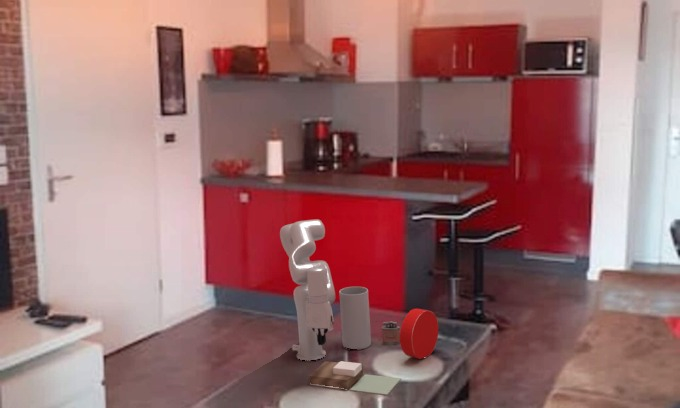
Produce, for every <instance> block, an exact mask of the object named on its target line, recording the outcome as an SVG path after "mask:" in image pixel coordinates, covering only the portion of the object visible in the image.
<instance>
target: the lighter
mask: <svg viewBox="0 0 680 408" xmlns="http://www.w3.org/2000/svg"><path fill="white" fill-rule="evenodd" d="M400 331H401V326H399V325H398V323H397V321H392V320H391V321H384V322H382V326H381V335H382V336H381V337H382V341H381V342H382V343H381V344H382V345H384V346H396V345H401V344H400Z"/></svg>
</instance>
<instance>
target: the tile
mask: <svg viewBox="0 0 680 408" xmlns="http://www.w3.org/2000/svg"><path fill="white" fill-rule="evenodd" d="M337 363H338V364H337V365H336V366H334V367H333V374H338V375H346V376H354V377H355V376H356V375H357V374H358V373H359V372H360V371H361V370H363V365H362V363H361V362H360V363H359V362H351V361H343V360H341V361H339V362H337Z"/></svg>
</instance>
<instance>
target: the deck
mask: <svg viewBox="0 0 680 408" xmlns="http://www.w3.org/2000/svg"><path fill="white" fill-rule="evenodd" d="M338 363H339V362H338V361H337V362H335V361H327V360H325V361H324V362H323V363H322V364H321V365H319V366H318V367H317V368H316V369H315V370H314V371H313V372H312V373H310V374H309V375H308V378H309V384H310V383H311V384H319V385H325V386H333V387H339V388H344V389H347V390H346V391H348V390H350V389H351V388H352V387H353V386H354V385H355V384H356V383H357V382H358V381H359V380H360V379H361V378H362V377H363V376H364V375H363V369H362V370H361V371H360V372H359V373H358V374H357V375H356V376H355V377H354V376H346V375H338V374H333V367H334V366H336V365H337V364H338Z"/></svg>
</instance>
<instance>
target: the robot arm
mask: <svg viewBox="0 0 680 408" xmlns="http://www.w3.org/2000/svg"><path fill="white" fill-rule="evenodd" d="M325 234H326V228H325V225H324V223H323V222H322V220H320V219H318V218H317V219H307V220H299V221H295V222H294V223H290V224H289V223H288V224H286V225H283V226H282V227H281V228H280V231H279V237H280V241H281V245H282V247H283V249H284V251H285V252H286V255H287V256H288V258H289V259H288V269H289V272H290V276H291V278H292V279H291V280H292V281H293V282H294V283H295V284H297V285H298V286H296V287H295V288H294V290H293V300H294V304H295V309H296V316H297V328H298V342H299V344H292V347H291V348H292V352H297V353H296V358H297V360H299V359H300V360H299V361H302V360H305V361H304V362H311V361H310V360H316V361H318V360H317V359H320V360H322V359H324V358H325V357H326V356H327V352H326V350H324V349H323V345H325V344H326V342H327V341H326V340H327V336H326V334H327V333H328V332H330V331H333V330H334V315H333V313H334V312H333V308H332V305H331V304H333V303H335V301H336V291H335V286H334V282H333V279H332V275H331V274H332V273H331V269H330V267H329V264H328V263H327V261H325V260H313V261H312V260H310V257H311V256H312V255H313V254H314V253H315V251H316V249H317V247H316V243H315V241H320V240H322V239H324V238H325V236H326V235H325ZM325 355H326V356H325ZM323 357H324V358H323ZM321 358H322V359H321ZM306 360H307V361H306ZM308 360H309V361H308Z"/></svg>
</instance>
